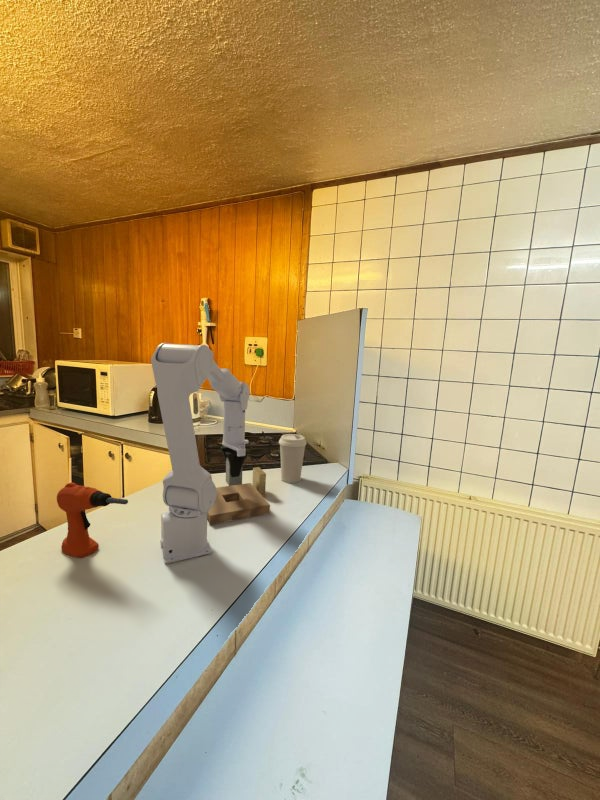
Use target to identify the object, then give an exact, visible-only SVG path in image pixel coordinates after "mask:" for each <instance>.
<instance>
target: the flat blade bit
mask: <svg viewBox="0 0 600 800" xmlns="http://www.w3.org/2000/svg"><path fill="white" fill-rule="evenodd" d="M266 478H267V473H266V472H265V471H264V470H263V469H261V467H260V466H257V467H253V468H252V482H251V484H252V485H253V486H254V487H255V488H256V490H257V491H258V492H259V493H260V494H261V495H262V496H263V497H264V496H266V487H267V486H266V484H267V483H266V482H267V481H266V480H267V479H266Z"/></svg>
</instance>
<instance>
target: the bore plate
mask: <svg viewBox="0 0 600 800" xmlns="http://www.w3.org/2000/svg"><path fill="white" fill-rule="evenodd" d="M216 491H217V494H216V499H215V502H214V505H213V506H212V508H211V509H210V510H209V511H208V512H207V523H208V524H209V526H212V525H218V524H222V523H227V522H233V521H237V520H238V521H239V520H244V519H247V518H253V517H259V516H264V515H269V514H270V513H271V512H270V511H271V504H270V503H269V501H267V500H266V499H265V497H264V496H262V495H261V494H260V493H259V492H258V491H257V490H256V488H255V487H254V486H253V485H252V482H246V483H242V484H239V485H232V486H229V485H226V486H218V487H216Z"/></svg>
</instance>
